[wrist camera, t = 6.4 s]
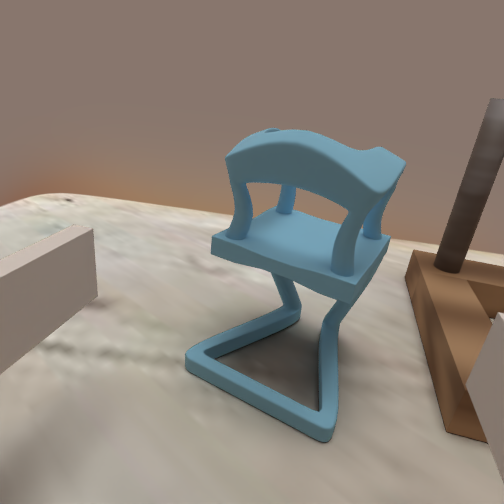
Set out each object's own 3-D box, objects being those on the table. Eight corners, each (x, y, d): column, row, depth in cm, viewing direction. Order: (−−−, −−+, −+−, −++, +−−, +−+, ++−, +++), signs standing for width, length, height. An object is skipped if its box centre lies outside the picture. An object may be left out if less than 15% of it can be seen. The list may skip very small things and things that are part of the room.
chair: (374, 345, 22) (437, 136, 17) (326, 447, 16) (407, 155, 11) (260, 300, 26) (287, 113, 21) (181, 368, 19) (191, 116, 14)
